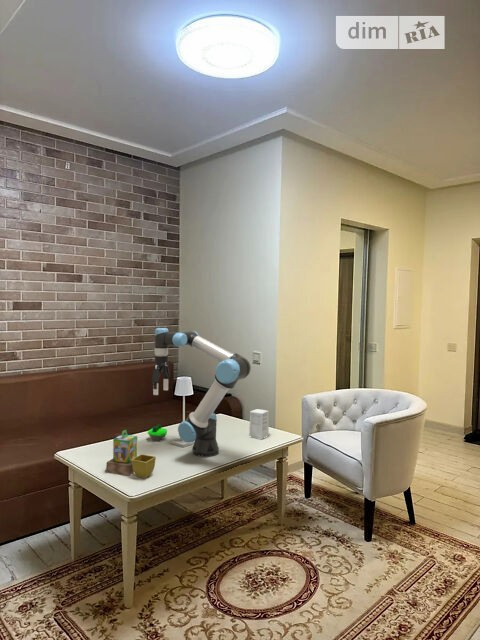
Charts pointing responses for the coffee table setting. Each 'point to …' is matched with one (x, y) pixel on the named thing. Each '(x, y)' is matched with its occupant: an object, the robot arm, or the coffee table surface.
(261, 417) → the supplement box
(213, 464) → the coffee table surface
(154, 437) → the green moss planter
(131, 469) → the podium
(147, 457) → the flower pot
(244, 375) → the robot arm
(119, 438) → the chalk box
